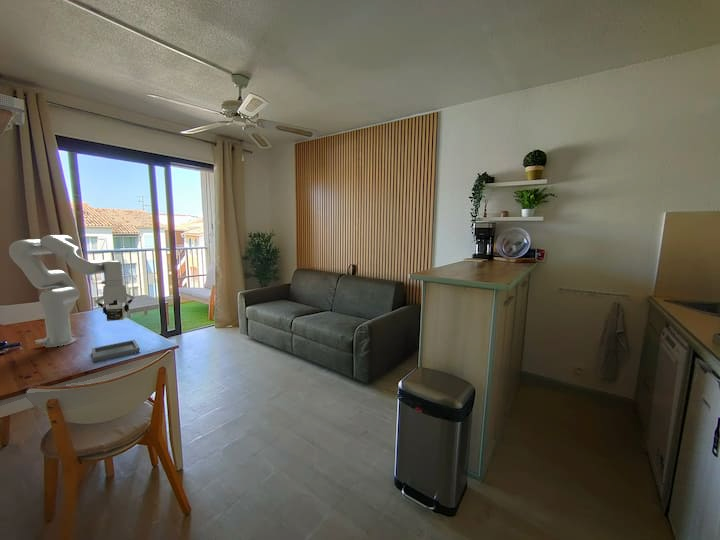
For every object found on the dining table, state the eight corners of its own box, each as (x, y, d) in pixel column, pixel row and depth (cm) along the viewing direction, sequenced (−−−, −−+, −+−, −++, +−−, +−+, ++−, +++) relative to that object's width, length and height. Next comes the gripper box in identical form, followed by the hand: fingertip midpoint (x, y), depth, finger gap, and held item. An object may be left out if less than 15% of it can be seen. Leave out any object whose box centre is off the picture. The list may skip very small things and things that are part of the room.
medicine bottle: (106, 321, 159) (105, 300, 157) (110, 318, 165) (108, 297, 163) (123, 320, 162) (121, 299, 160) (126, 316, 168) (124, 296, 167)
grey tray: (93, 362, 140) (93, 357, 140) (92, 352, 151) (91, 348, 151) (139, 352, 153) (139, 347, 152) (135, 343, 164) (134, 339, 163)
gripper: (93, 285, 152) (96, 317, 154) (134, 282, 164) (136, 311, 166) (92, 283, 157) (95, 314, 159) (132, 280, 170) (134, 308, 172)
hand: (116, 312), depth 163 cm, fingers closed on medicine bottle, 8 cm apart
